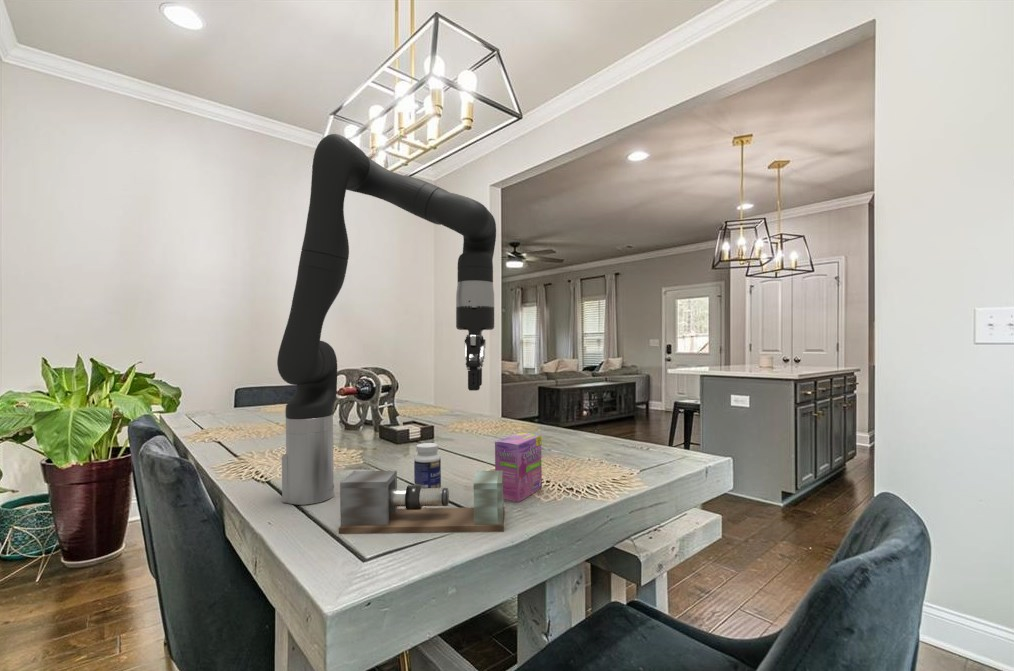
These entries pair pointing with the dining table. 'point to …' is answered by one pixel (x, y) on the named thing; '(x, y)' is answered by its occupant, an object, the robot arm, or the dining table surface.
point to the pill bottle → (427, 466)
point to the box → (519, 465)
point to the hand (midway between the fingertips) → (475, 388)
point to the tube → (418, 497)
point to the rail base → (372, 514)
